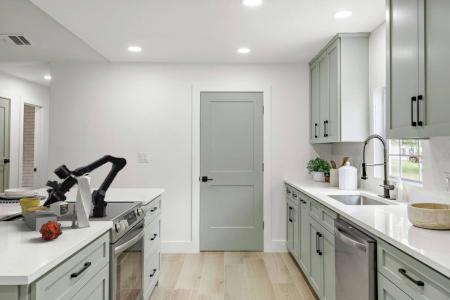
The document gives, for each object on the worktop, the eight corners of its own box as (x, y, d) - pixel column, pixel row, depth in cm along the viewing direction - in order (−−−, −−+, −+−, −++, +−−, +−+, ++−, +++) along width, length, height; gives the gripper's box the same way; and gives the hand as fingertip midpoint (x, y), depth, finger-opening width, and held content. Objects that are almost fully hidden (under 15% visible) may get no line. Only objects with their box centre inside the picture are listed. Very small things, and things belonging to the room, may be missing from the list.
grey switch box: (45, 220, 181) (46, 209, 181) (57, 228, 165) (58, 215, 165) (24, 223, 174) (24, 210, 174) (34, 231, 158) (35, 217, 158)
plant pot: (43, 214, 198) (43, 198, 198) (31, 217, 188) (32, 200, 188) (27, 213, 199) (28, 197, 199) (14, 217, 189) (15, 200, 189)
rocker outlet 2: (51, 213, 169) (52, 211, 169) (54, 214, 166) (54, 212, 166) (34, 212, 164) (34, 209, 164) (36, 213, 161) (37, 211, 161)
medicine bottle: (60, 216, 194) (60, 196, 194) (49, 215, 196) (50, 195, 196) (68, 214, 201) (68, 194, 201) (57, 213, 203) (58, 194, 203)
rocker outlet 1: (44, 207, 179) (44, 205, 179) (47, 208, 176) (46, 206, 176) (28, 210, 173) (27, 208, 173) (30, 211, 170) (29, 209, 170)
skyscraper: (87, 224, 176) (89, 172, 176) (93, 227, 170) (95, 173, 170) (71, 226, 170) (73, 172, 170) (77, 229, 164) (79, 173, 164)
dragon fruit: (53, 238, 152) (52, 249, 141) (36, 229, 148) (33, 239, 137) (65, 223, 153) (65, 233, 142) (49, 214, 149) (47, 223, 139)
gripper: (51, 174, 187) (28, 193, 180) (61, 176, 174) (36, 198, 166) (65, 187, 193) (42, 207, 185) (76, 190, 179) (52, 212, 171)
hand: (43, 206), depth 176 cm, fingers closed, pressing on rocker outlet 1
